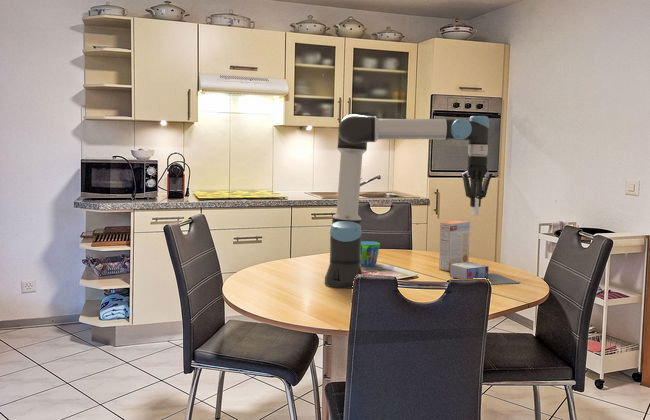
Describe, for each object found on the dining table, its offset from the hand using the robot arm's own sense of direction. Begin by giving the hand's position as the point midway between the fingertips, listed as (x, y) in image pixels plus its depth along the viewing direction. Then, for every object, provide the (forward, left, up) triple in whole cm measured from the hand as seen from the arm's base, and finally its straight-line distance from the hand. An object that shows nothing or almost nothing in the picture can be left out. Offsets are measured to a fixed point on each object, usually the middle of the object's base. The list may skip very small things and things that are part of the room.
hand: (474, 215), depth 236 cm
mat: (+6, 0, -26) cm, 27 cm away
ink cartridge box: (-6, 0, -23) cm, 24 cm away
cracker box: (+3, +22, -27) cm, 35 cm away
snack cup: (-32, +36, -27) cm, 55 cm away
